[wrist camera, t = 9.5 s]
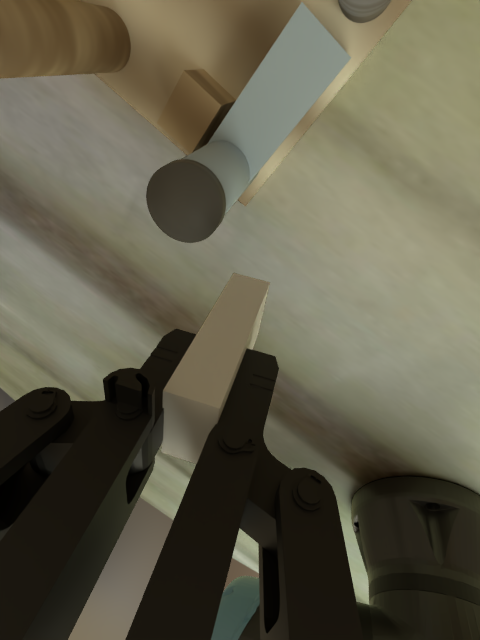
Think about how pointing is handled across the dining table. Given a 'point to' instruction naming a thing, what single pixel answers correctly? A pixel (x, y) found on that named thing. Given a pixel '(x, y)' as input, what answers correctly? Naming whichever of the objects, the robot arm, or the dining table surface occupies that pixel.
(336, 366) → the dining table surface
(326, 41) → the hinged leg
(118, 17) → the wooden twin post stand
